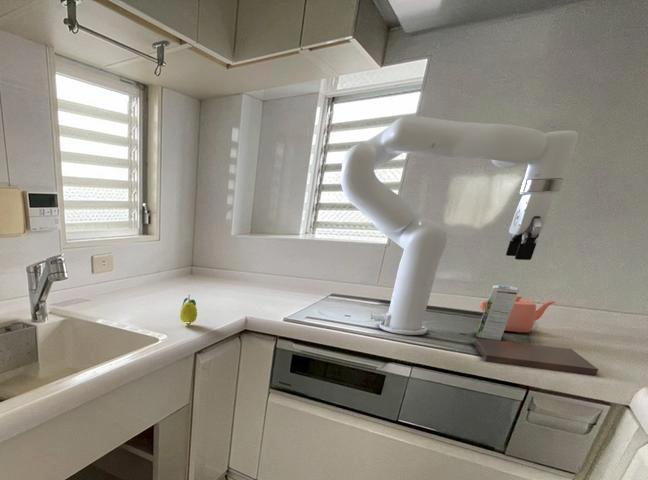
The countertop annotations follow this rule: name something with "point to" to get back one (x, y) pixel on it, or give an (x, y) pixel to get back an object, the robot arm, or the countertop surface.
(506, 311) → the syrup box
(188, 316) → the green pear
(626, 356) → the countertop surface
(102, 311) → the countertop surface
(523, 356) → the cutting board
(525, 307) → the teapot
